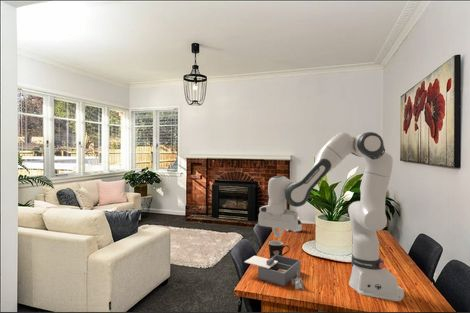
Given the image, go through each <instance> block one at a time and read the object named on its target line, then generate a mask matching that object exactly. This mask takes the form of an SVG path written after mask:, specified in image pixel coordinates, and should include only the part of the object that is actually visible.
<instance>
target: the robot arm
mask: <svg viewBox="0 0 470 313" xmlns="http://www.w3.org/2000/svg"><path fill="white" fill-rule="evenodd" d="M384 144H385V143H384V140H383V137H382V136H381V135H380V134H379V133H376V132H373V131H367V132H363V133H360V134H357V135H356V136H352V135H351V134H348V133H346V132H341V131H340V132H338V133H337V134H335V135H334V136H332V137H331V138H330V139H329V140H328V141H327V142H326V143H325V144H324V145H323V146H322V147H321V148H320V149H319V151H318V152H317V153H316V155H315V158H314V164H313V165H312V167H311V169H310V170H309V171H308V172H307V173H306V174H305V175H304V176H303V177H302V178H301V179H300V180H299V181H294V180H292V179H289V178H288V177H286V176H284V175H283V174H282V175H280V174H279V175H276V176H274V175H273V176H272V177H270V178H269V180H268V185H267V195H268V201H267V203H268V204H266V205H263V206H261V207H259V208H258V209H259V213H258V219H257V220H258V226H260V227H268V228H271V230H272V232H273V233H274V237H276V238H282V234H283V231H284V229H285V230H286V229H287V230H288V231H290V230H296V229H297V228H298V220H297V219H298V217H299V215H298V212H297V211H296V210H294V209H293V210H292V209H288V208H287V204H289V205H290V206H292V207H296V208H298V207H302V206H304V205H305V204H306V203H307V202H308V200H309V197H310V194H311V192H312V191H313V189H314V188H315V187H316V186H317V185H318V184H319V182H320V181H322V179H323V178H324V177H325V176H326V175H327V174H328V173H329V172H331V171H332V170H333V169H335V168H336V167H337V166H339V164H341V163H342V161H343V160H344V159H345V158H346V157H347V156H348V155H350V154H351V155H354V156H356V157H359V158H364V159H365V168H364V170H363V171H364V172H363V175H362V178H361V181H360V186H359V191H360V200H356V201H353V202H352V203H350V204H349V205H348V208H347V211H348V212H347V213H348V216H349V221H350V222H349V223H350V228H351V230H350V231H351V233H352V234H351V235H352V254H351V274H350V278H349V281H348V285H349V286H350V287H351V288H352V289H353V290H354V291H356V292H357V293H358V294H359V295H361V296H365V297H371V298H377V299H382V300H387V301H392V302H401V301H402V300H403V299H404V298H405V291H404V289H403V288H402V287H401V286H400V285H399V283H398V281H397V277H396V276H395V275H394V274H393V273H391V272H390V271H389V270H388V269H387V268H385V262H384V259H381V258H380V241H379V237H378V234H377V232H380V231H382V230H384V228H386V226H387V224H388V218H387V217H388V216H387V215H386V196H387V191H388V187H389V183H390V180H391V176H392V171H393V161H394V160H393V156H392V155H390V153H388V152H386V149H385V145H384ZM277 229H278V230H279V232H278V231H277ZM287 230H286V231H287Z"/></svg>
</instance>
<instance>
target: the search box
mask: <svg viewBox="0 0 470 313" xmlns="http://www.w3.org/2000/svg"><path fill="white" fill-rule="evenodd" d="M272 258H274V260H275V261H278V263H276V264H275V265H274V266H272V267H271V268H270V269H267V268H264V267H260V266H257V279H258V280H261V281H264V282H267V283H271V284H275V285H278V286H281V287H286V286H287V284H289V283H290V282H292V279H295V278H296V277H297V270H300V271H301V259H296V258H293V257H289V256H284V255H283V256H280V255H275V256H273V257H272ZM279 269H283V270H287V271H285V272H284V273H282V272H279V271H278V270H279Z"/></svg>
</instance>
